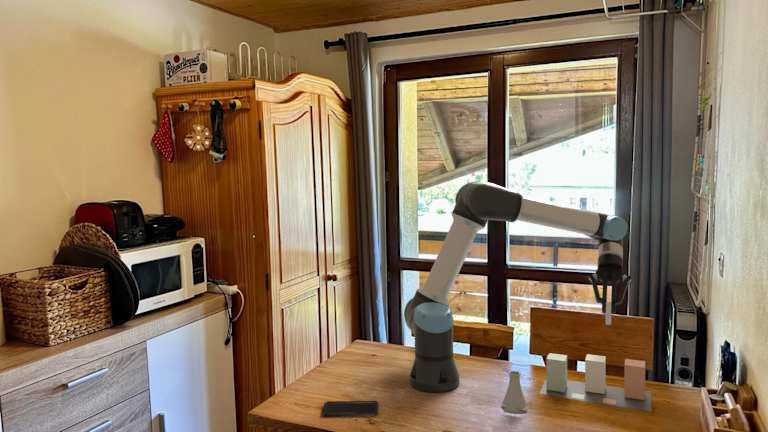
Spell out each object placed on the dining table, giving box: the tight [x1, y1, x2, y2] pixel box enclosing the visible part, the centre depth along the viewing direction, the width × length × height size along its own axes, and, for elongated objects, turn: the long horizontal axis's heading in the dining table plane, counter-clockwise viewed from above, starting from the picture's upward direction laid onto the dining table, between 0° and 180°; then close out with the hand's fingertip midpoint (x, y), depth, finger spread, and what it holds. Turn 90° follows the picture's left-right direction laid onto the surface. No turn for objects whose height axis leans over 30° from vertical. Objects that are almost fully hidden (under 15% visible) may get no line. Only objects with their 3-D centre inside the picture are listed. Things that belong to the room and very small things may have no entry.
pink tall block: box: [623, 358, 646, 400], centre depth 143 cm, size 5×5×9 cm
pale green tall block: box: [545, 352, 568, 392], centre depth 149 cm, size 5×5×9 cm
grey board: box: [539, 378, 652, 412], centre depth 146 cm, size 28×13×2 cm, turn 64°
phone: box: [321, 400, 379, 418], centre depth 142 cm, size 8×1×15 cm
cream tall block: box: [584, 353, 607, 394], centre depth 147 cm, size 5×5×9 cm
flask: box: [500, 370, 528, 415], centre depth 141 cm, size 7×7×10 cm
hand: (608, 322), depth 159 cm, fingers closed
